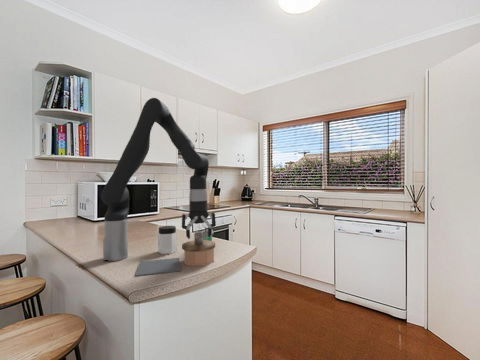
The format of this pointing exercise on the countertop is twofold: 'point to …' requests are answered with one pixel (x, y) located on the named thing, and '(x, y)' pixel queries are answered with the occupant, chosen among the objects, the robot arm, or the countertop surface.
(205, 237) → the food container
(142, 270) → the mat
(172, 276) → the countertop surface
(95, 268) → the countertop surface
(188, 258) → the bowl
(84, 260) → the countertop surface
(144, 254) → the countertop surface
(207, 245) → the lid
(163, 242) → the jar
